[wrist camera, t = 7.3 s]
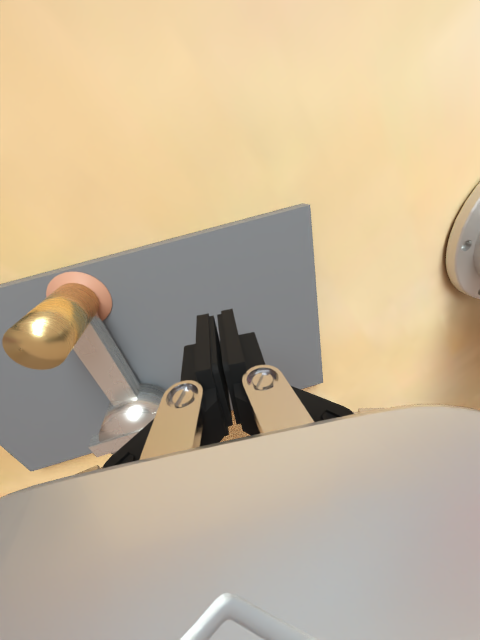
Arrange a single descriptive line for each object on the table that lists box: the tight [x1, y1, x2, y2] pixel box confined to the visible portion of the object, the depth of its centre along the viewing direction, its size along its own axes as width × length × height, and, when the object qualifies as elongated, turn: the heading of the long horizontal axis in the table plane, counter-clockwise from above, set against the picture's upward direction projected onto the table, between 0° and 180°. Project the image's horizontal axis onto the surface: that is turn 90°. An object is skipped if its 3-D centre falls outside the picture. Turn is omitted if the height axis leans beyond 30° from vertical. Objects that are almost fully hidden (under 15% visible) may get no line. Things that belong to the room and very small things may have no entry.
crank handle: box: [2, 283, 166, 457], centre depth 18 cm, size 16×6×5 cm, turn 14°
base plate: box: [0, 204, 323, 471], centre depth 20 cm, size 28×16×1 cm, turn 103°
